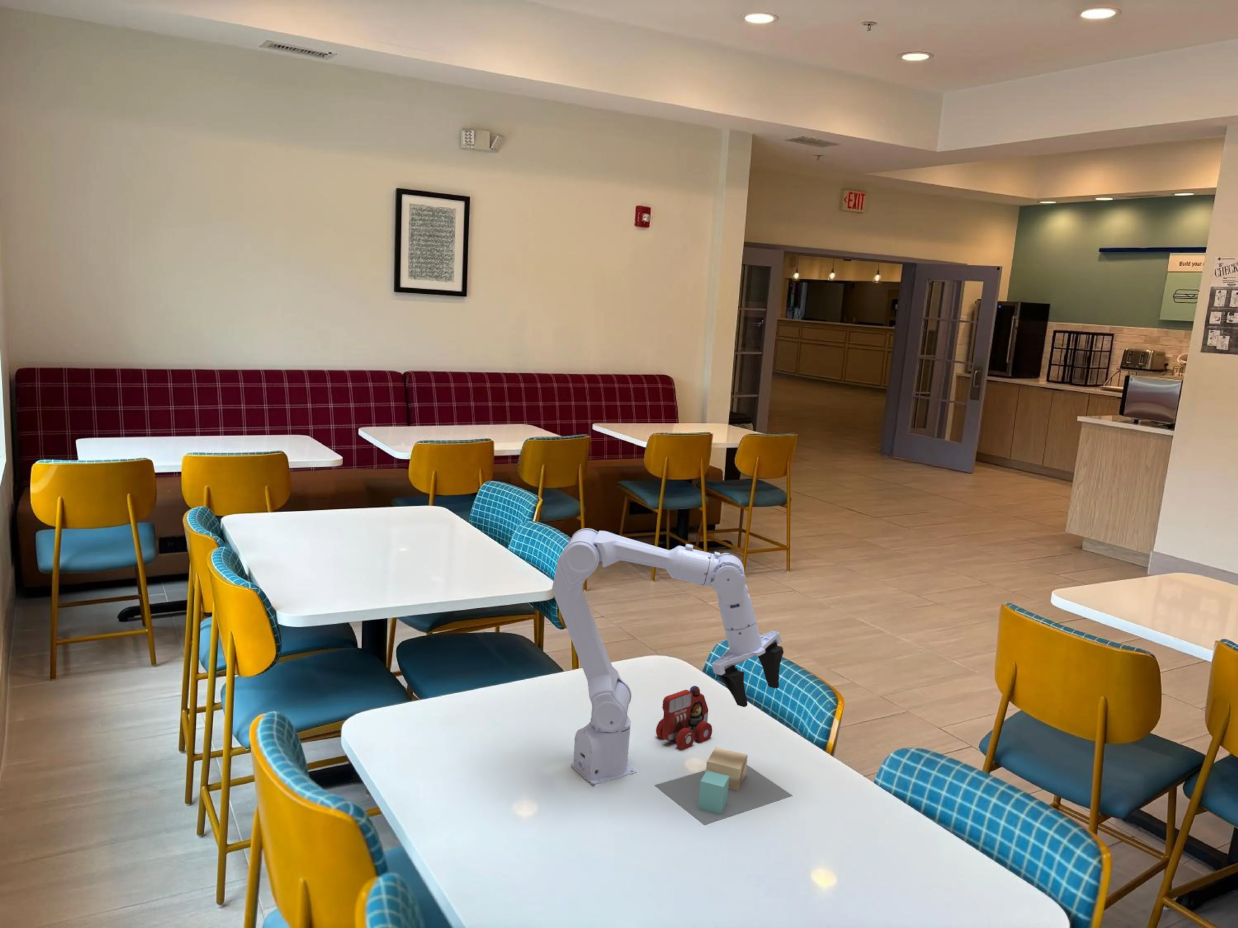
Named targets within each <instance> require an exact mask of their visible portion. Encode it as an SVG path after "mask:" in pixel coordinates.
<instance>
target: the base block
mask: <svg viewBox="0 0 1238 928" xmlns="http://www.w3.org/2000/svg"><path fill="white" fill-rule="evenodd" d="M748 755H749V754H747V753H742V752H738V751H734V750H730V749H726V748H721V747H716V746H715V748H714V749H713V750H712V752H711V753H710V755H709V757H708V759H707V760H706V765H705V767H706V769H705V770H706V771H711V772H715V773H719V774H723V775H727V776H729V786H728V788H730V789H734V790H738V789H739V787H740V785H741V783H742V781H743V779H744V777H745V775H746V767H747V765H748V757H749V756H748Z"/></svg>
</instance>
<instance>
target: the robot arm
mask: <svg viewBox="0 0 1238 928" xmlns="http://www.w3.org/2000/svg"><path fill="white" fill-rule="evenodd" d="M564 547H565V548H564V550H563V551H562V552H561V553H560V556H559V557H558V558H557V563H556V569H555V574H554V578H553V583H552V587H551V590H552V594H553V597H554V599H555V601H556V604H557V607H558V609H559V612H560V614H561V617H562V619H563V621H564V624H565V627H566V629H567V632H568V635H569V638H570V640H571V642H572V644H573V647H574V650H575V652H576V655H577V658H578V661H579V663H580V665H581V667H582V671H583V674H584V675H585V679H586V681H587V687H588V688H587V689H588V697H589V700H590V702H591V713H590V714H591V715H590V721H589V723H588V724H586V725H585V726H584V727H582V728H580V729H577V731H576V732H575V736H574V743H573V744H574V745H573V746H574V748H573V761H572V762H571V763H570V767H571V768H573V770H575V771H576V772H577V773H578V774H579V775H581V776H582V777H583V778H584V779H585V780H587V782H589V783H590V784H591V785H592V786H596V785H598V784H603V783H606V782H608V781H609V782H610V781H613V780H616V779H620V778H623V777H627V776H630V775H634V774H637V773H638V771H637V769H635V768H634V767H633V766H632V765H631V764H629V763H628V761H629V748H630V747H629V745H630V734H631V723H632V722H631V720H630V718H629V716H628V712H629V707H630V703H631V701H632V690H631V689H630V686H629V685H628V684H627V683H626V682H625V681H624V680H623V679H622V678H621V676H620V674H619V672H618V671H619V670H618V669H616V668H615V667H614V666H613V665H612V662H611V660H610V657H609V654H608V652H607V649H606V647H605V644H604V641H603V638H602V636H601V633H600V631H599V628H598V626H597V624H596V621H595V618H594V615H593V613H592V611H591V608H590V605H589V602H588V600H587V598H586V594H585V593H584V590H583V586H584V584H585V582H586V580H587V578H588V577H590V576H591V575H592V574H593V573H594V572H595V571H596V570H597V568H598V566H599V563H601V562H602V568H606V567H608V566H611V565H612V564H615V563H618V562H620V561H623V562H627V563H633V564H638V565H643V566H649V567H654V568H660V569H664V570H666V571H667V573H668V575H669V576H670V577H671V578H672V579H676V580H678V581H679V580H680V581H683V582H687V583H692V584H695V585H700V586H703V587H711V588H712V589H713V591H715V592H716V595H717V599H718V602H717V603H718V604H717V606H718V608H719V613H720V617H721V620H722V624H723V628H724V632H725V636H726V640H727V644H728V648H729V649H727V651H725V653H723V654H722V655H721V656H720V657H719V658H718V659H716V660H714V661H713V662H711V667H712V670H713V674H715V675H716V676H717V677H718V678H719V679H720V680H721V682H722V683H723V684H724V685H725V686H726V687H727V689H728V691H729V692H730V695H732V697H733V699H734V701H735V703H736V705H737V706H738V707H742V708H746V707H748V699H747V694H746V690H745V671H741V670H738V668H737V667H736V666H738V665H740V664H742V663H743V662H745V661H746V660H749V659H751V658H753V657H757V658H758V660H759V662H760V665H761V667H762V671H763V673H764V677H765V681H766V684H767V686H768V687H769V688H772V689H776V690H777V689H779V687H780V667H781V662H782V658H783V655H784V647H783V646H780V645H779V644H781V643H782V638H781V633H780V632H778V631H776V630H775V631H774V630H771V631H769V632H767V633H764V634H760V631H759V630H760V629H759V625H758V622H757V617H756V613H755V610H754V609H755V608H754V605H753V602H752V601H753V600H752V598H751V595H750V593H749V588H748V585H747V583H746V582H747V576H746V575H745V567H744V564H743V562H742V560H740V558H738V556H736V555H734V554H731V553H730V552H723V553H721V552H718V551H714V553H713V552H712V553H711V552H707V551H702V550H699V549H695V548H694V544H690V543H689V544H688V543H685V546H682V545H677V546H675V547H674V548H672V549H666V548H662V547H659V546H655V545H652V544H649V543H645V542H642V541H639V540H635V539H632V538H628V537H626V536H622V535H618V534H616V533H613V532H610V531H606V530H599V531H597V530H595V529H593V528H590V527H589V528H588V527H587V528H581V529H579V530H577V531H575V532H574V533H573V534H572V537H570V539H569V541H568V543H567V544H566V546H564Z"/></svg>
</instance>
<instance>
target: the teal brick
mask: <svg viewBox="0 0 1238 928" xmlns="http://www.w3.org/2000/svg"><path fill="white" fill-rule="evenodd" d="M728 786H729V776H727V775H723V774H719V773H715V772H711V771H706V773H705V774H704V776H703V778H702V779H701V781H700V791H699V801H698V809H702V810H706V811H710V812H713V813H717V814H721V813H722V811H723V809H724V807H725V806H726V804H727V796H728Z"/></svg>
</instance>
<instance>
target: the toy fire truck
mask: <svg viewBox="0 0 1238 928" xmlns="http://www.w3.org/2000/svg"><path fill="white" fill-rule="evenodd" d="M662 711H663V717H662V718H661V719H660V720H659V721H658V723H657V725H656V727H655V735H656V736H657V737H658V738H659V739H661V740H666V741H669V742H670V741H675V745H676V747H677V748H678V749H680V750H682V751H685V750H687V749H689V748H691V747H692V745H693V744H694V742H695V741H697V742H699V743H702V744H703V743H704V742H707V741H710V739H711V737H712V734H713V726H712V724H711V723H709V722H708V719H709V717H708V716H709V707H708V704H707V701H706V698H705V695H704V694H703V693H701V689H700V687H698V686H697V685H693V686H691V687H690V688H689V690H688V689H684V690H680V691H677V692H675V693H672V694H669V695H666V696H665V697H664V698H663V700H662Z"/></svg>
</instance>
